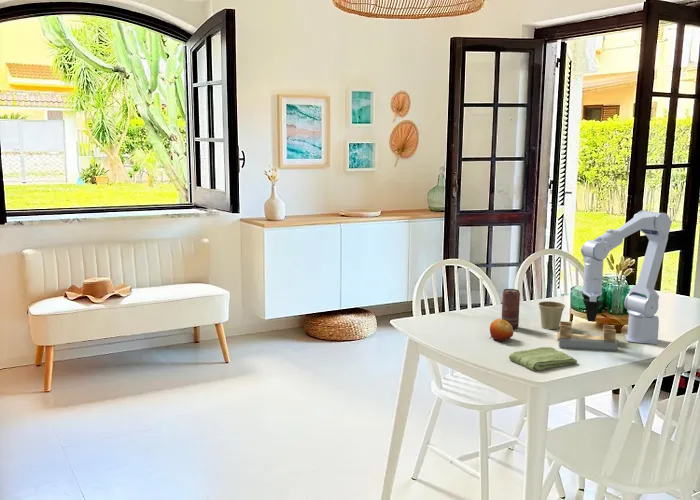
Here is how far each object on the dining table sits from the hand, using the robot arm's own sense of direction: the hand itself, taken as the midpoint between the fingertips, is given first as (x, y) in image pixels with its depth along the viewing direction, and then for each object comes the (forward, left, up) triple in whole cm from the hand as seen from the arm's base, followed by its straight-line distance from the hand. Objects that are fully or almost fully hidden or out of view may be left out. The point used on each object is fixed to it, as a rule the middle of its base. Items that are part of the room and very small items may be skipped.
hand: (590, 318), depth 214 cm
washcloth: (+14, +20, -11) cm, 27 cm away
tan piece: (0, -8, -10) cm, 13 cm away
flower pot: (+12, -21, -10) cm, 26 cm away
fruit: (+28, 0, -10) cm, 30 cm away
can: (+26, -16, -10) cm, 32 cm away
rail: (0, +1, -10) cm, 10 cm away
